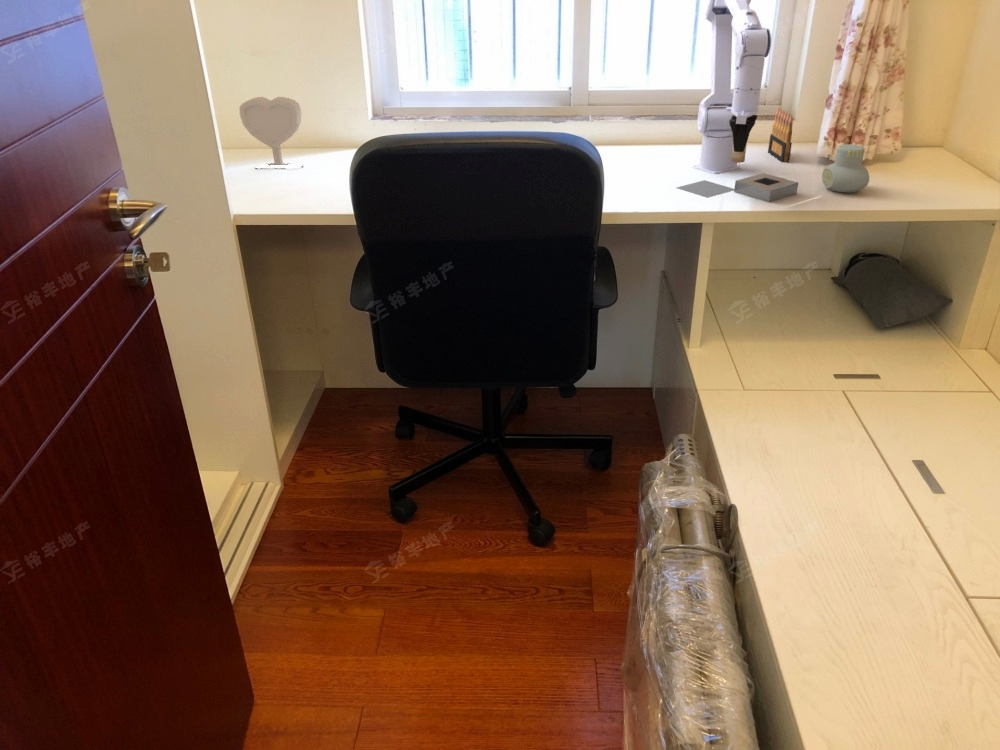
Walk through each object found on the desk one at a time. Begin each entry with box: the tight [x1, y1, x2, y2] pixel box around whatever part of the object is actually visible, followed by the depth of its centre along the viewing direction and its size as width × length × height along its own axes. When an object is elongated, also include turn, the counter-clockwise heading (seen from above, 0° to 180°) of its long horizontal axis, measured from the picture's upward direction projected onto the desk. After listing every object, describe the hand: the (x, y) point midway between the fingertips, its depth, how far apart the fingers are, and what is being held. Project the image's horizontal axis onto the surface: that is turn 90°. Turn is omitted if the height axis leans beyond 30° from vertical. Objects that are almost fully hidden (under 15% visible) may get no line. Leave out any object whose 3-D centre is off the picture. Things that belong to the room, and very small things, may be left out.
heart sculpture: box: [239, 96, 302, 166], centre depth 212 cm, size 16×5×18 cm, turn 85°
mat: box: [675, 179, 734, 198], centre depth 190 cm, size 10×10×1 cm
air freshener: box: [821, 143, 870, 194], centre depth 185 cm, size 11×8×10 cm
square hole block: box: [733, 172, 799, 203], centre depth 185 cm, size 10×10×3 cm
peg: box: [731, 142, 748, 164], centre depth 182 cm, size 3×3×9 cm
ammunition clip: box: [767, 107, 794, 163], centre depth 211 cm, size 11×2×12 cm, turn 4°
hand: (739, 149), depth 183 cm, fingers closed on peg, 3 cm apart
